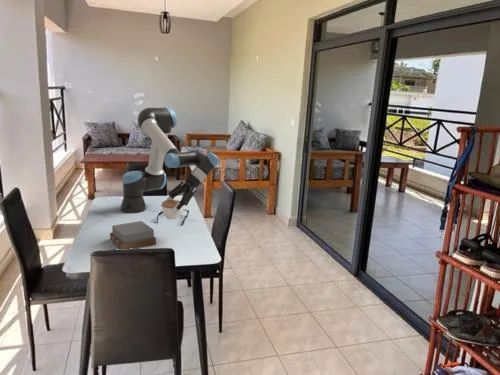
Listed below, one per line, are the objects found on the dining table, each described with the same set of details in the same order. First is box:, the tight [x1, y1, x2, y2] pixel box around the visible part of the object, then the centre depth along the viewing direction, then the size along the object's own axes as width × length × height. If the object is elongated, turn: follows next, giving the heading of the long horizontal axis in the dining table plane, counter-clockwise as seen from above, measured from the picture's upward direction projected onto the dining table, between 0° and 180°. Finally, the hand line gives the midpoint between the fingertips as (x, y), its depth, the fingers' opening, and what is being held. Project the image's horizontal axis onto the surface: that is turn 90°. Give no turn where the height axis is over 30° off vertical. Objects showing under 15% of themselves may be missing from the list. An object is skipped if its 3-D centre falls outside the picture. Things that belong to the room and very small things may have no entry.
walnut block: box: [109, 232, 157, 250], centre depth 192 cm, size 17×17×4 cm
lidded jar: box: [161, 199, 184, 220], centre depth 198 cm, size 11×11×9 cm
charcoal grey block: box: [111, 220, 155, 243], centre depth 191 cm, size 15×15×4 cm
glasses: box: [156, 209, 190, 226], centre depth 228 cm, size 17×18×5 cm
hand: (167, 210), depth 197 cm, fingers closed on lidded jar, 11 cm apart
